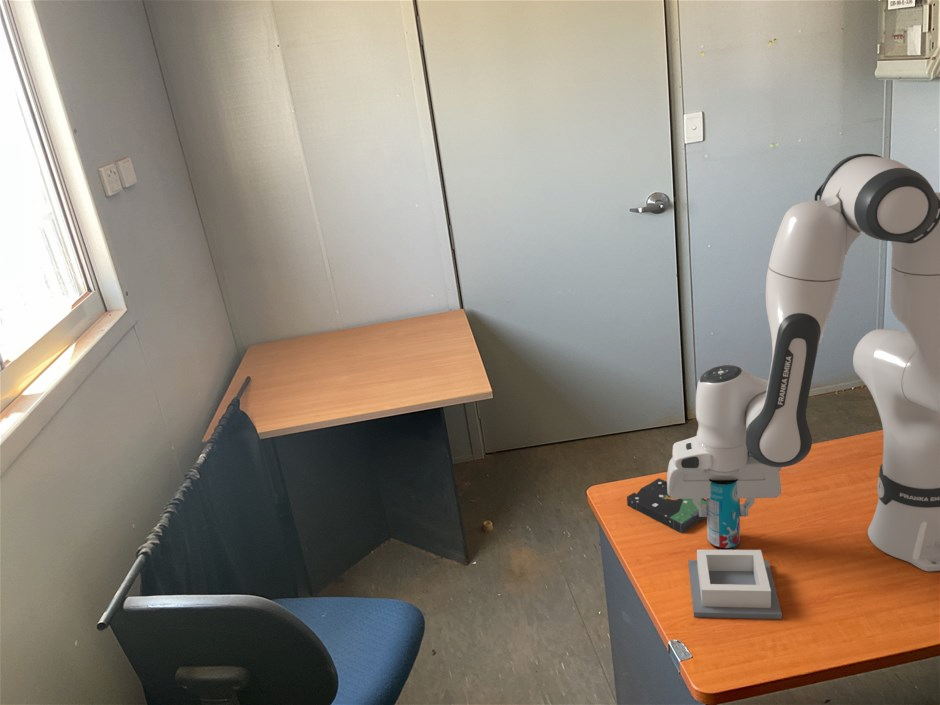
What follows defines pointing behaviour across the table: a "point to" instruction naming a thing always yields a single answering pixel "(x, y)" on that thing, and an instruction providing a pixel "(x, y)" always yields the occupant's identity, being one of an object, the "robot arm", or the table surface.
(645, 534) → the table surface
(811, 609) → the table surface
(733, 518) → the beverage can
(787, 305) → the robot arm
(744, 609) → the can holder
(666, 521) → the disk drive
